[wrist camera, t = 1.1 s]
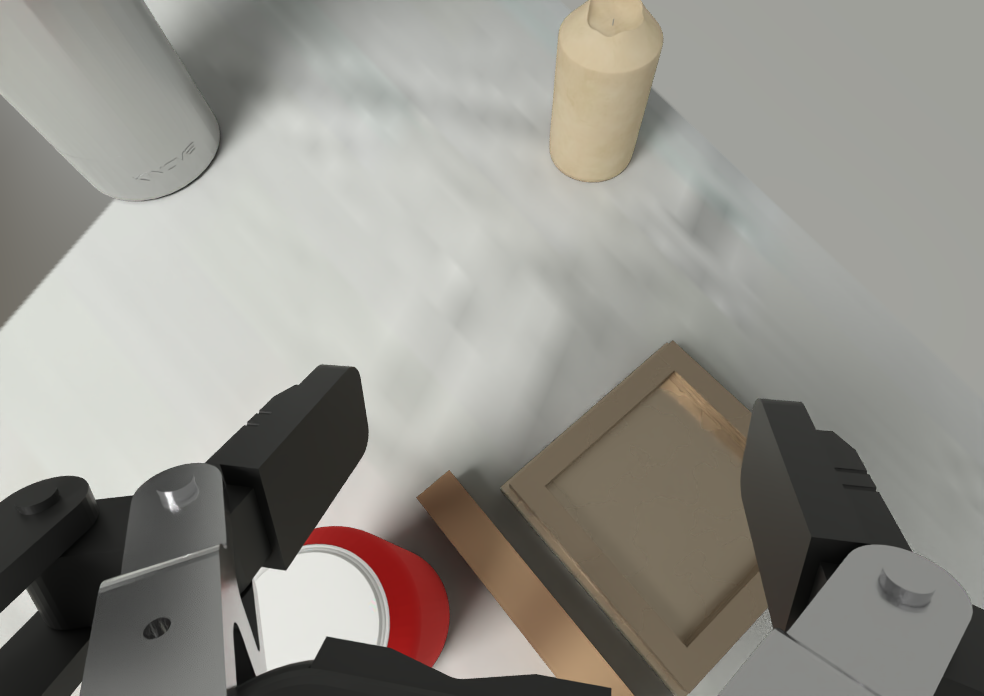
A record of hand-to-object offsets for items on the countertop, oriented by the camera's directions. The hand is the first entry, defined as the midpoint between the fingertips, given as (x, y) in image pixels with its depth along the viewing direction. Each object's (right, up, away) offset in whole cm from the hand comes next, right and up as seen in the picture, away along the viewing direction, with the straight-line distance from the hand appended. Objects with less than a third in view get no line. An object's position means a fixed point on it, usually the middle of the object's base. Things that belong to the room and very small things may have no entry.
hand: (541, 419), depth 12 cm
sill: (+1, -11, +16) cm, 19 cm away
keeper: (+8, -6, +17) cm, 20 cm away
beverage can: (-6, -11, +16) cm, 21 cm away
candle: (+5, +14, +27) cm, 31 cm away
